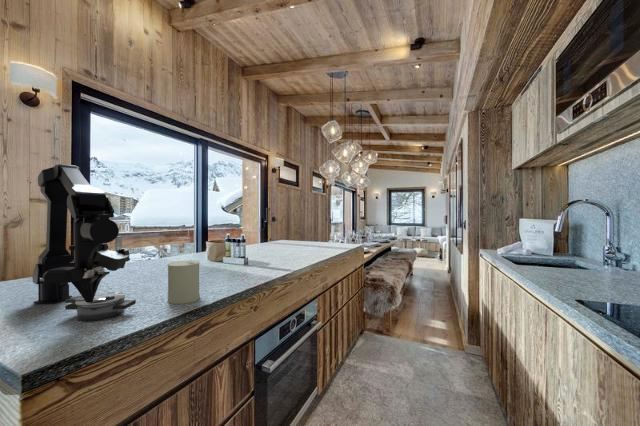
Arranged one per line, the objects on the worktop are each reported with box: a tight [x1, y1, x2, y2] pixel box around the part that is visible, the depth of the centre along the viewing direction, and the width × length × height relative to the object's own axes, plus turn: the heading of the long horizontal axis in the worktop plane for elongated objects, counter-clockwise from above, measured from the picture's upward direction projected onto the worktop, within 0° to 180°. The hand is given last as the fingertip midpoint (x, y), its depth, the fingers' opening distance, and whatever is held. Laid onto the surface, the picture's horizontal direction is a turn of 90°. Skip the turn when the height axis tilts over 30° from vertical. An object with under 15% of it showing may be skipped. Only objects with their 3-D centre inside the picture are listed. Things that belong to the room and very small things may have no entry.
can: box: [167, 260, 201, 305], centre depth 89 cm, size 9×9×12 cm
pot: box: [65, 298, 137, 323], centre depth 76 cm, size 15×11×4 cm
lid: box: [64, 292, 126, 306], centre depth 75 cm, size 13×11×1 cm
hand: (89, 302), depth 71 cm, fingers closed, pressing on lid
